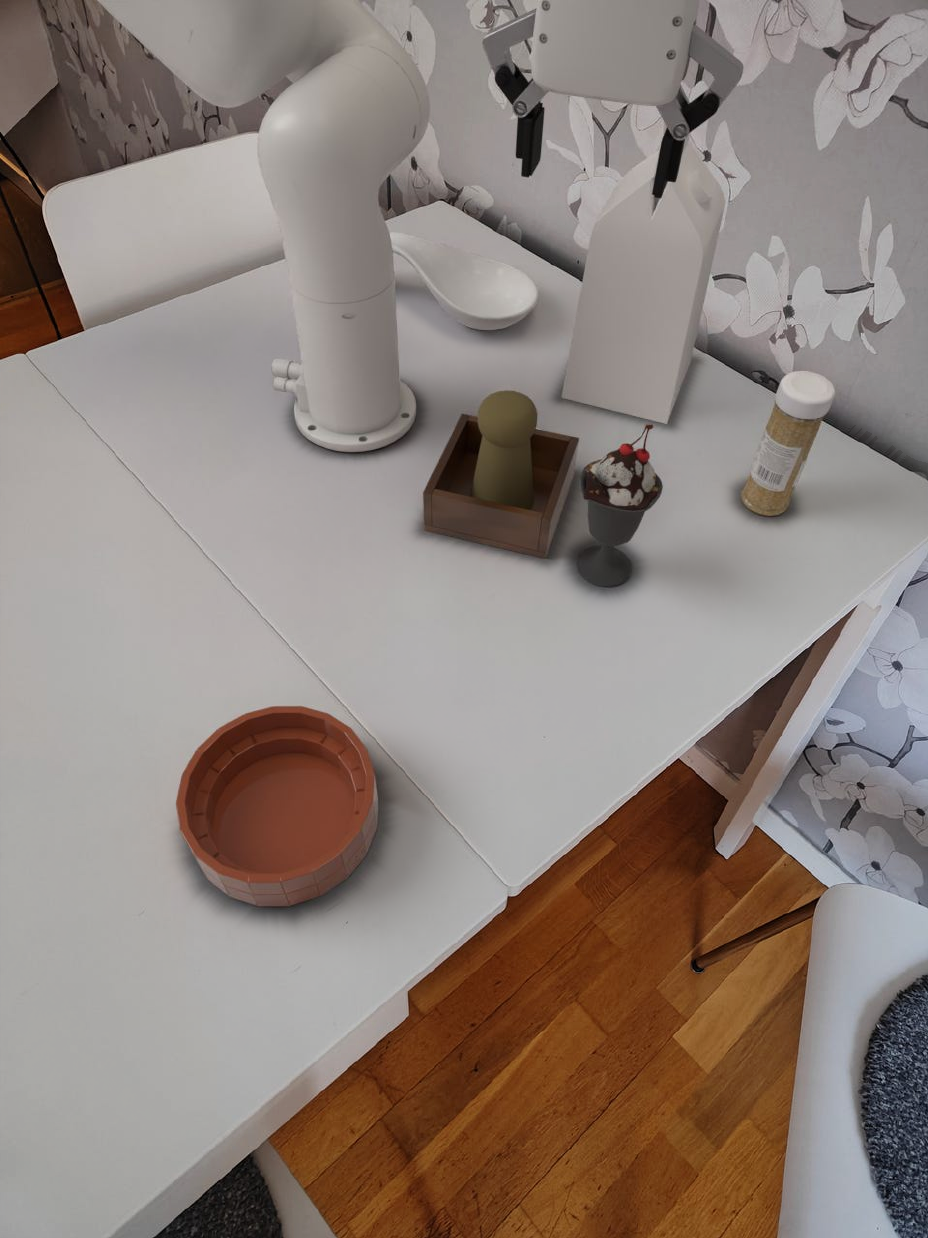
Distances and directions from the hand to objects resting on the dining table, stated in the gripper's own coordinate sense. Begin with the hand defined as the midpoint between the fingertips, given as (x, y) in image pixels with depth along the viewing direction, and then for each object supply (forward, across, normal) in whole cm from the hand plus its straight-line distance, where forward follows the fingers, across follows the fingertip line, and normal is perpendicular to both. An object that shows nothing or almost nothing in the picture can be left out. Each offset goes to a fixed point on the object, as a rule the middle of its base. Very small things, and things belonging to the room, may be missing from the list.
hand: (594, 179), depth 64 cm
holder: (+28, +4, +6) cm, 29 cm away
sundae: (+28, -7, +11) cm, 31 cm away
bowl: (+28, +10, +42) cm, 52 cm away
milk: (+28, -4, -17) cm, 33 cm away
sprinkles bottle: (+28, -20, -2) cm, 35 cm away
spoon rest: (+28, +20, -24) cm, 42 cm away
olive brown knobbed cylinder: (+28, +4, +6) cm, 29 cm away
